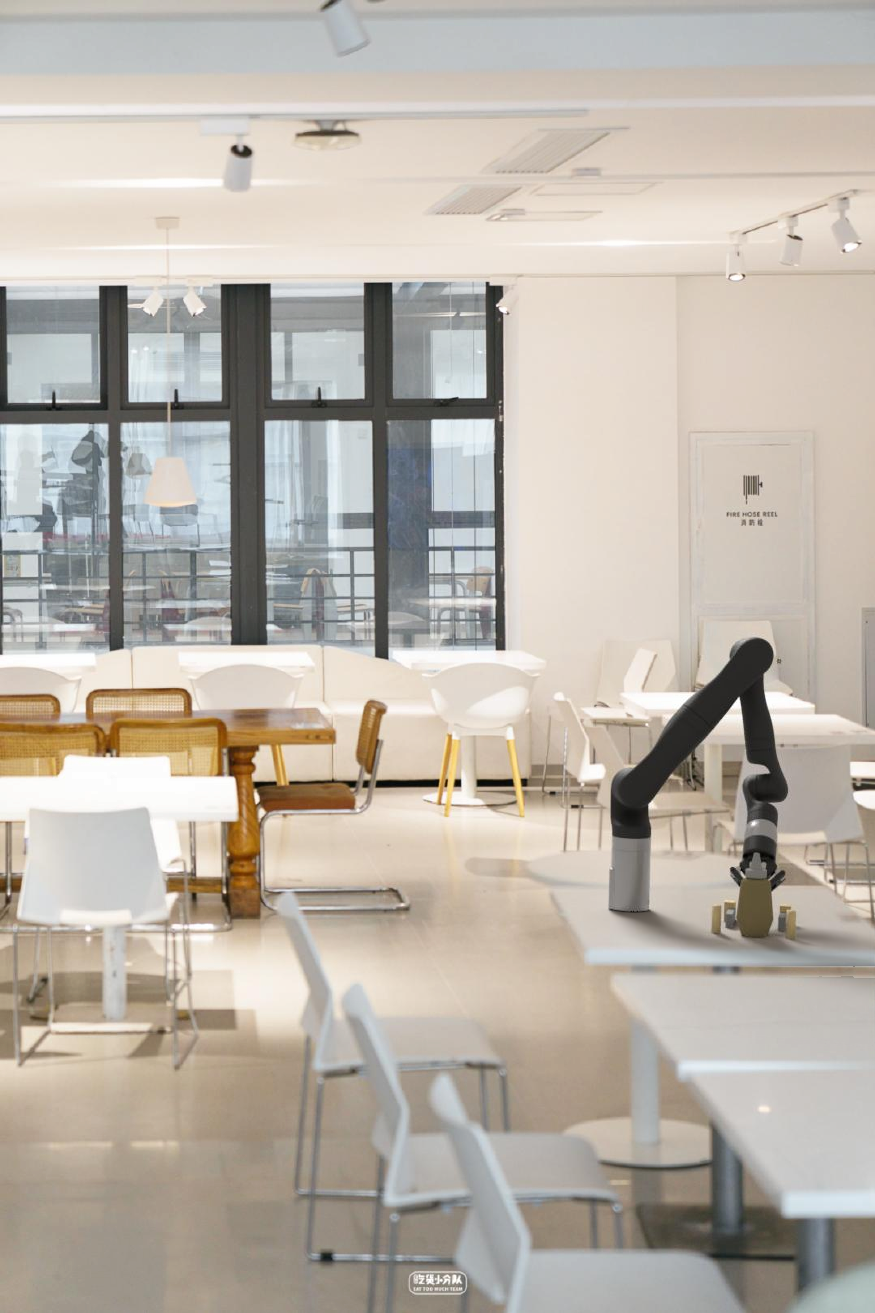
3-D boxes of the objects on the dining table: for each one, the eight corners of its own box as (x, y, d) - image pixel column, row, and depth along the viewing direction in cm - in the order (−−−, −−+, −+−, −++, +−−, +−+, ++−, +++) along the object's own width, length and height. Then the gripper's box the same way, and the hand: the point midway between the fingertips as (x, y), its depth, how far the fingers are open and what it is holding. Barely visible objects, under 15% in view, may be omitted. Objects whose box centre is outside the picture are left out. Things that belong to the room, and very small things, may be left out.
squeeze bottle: (768, 940, 329) (770, 857, 329) (731, 936, 333) (733, 853, 332) (777, 934, 336) (779, 852, 336) (740, 930, 340) (743, 849, 339)
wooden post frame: (711, 933, 335) (711, 906, 335) (717, 918, 353) (718, 892, 353) (795, 939, 331) (795, 911, 331) (797, 924, 348) (798, 898, 348)
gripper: (730, 831, 351) (724, 893, 339) (789, 835, 347) (785, 898, 336) (731, 851, 356) (725, 913, 345) (789, 855, 353) (785, 917, 341)
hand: (755, 905), depth 340 cm, fingers closed
